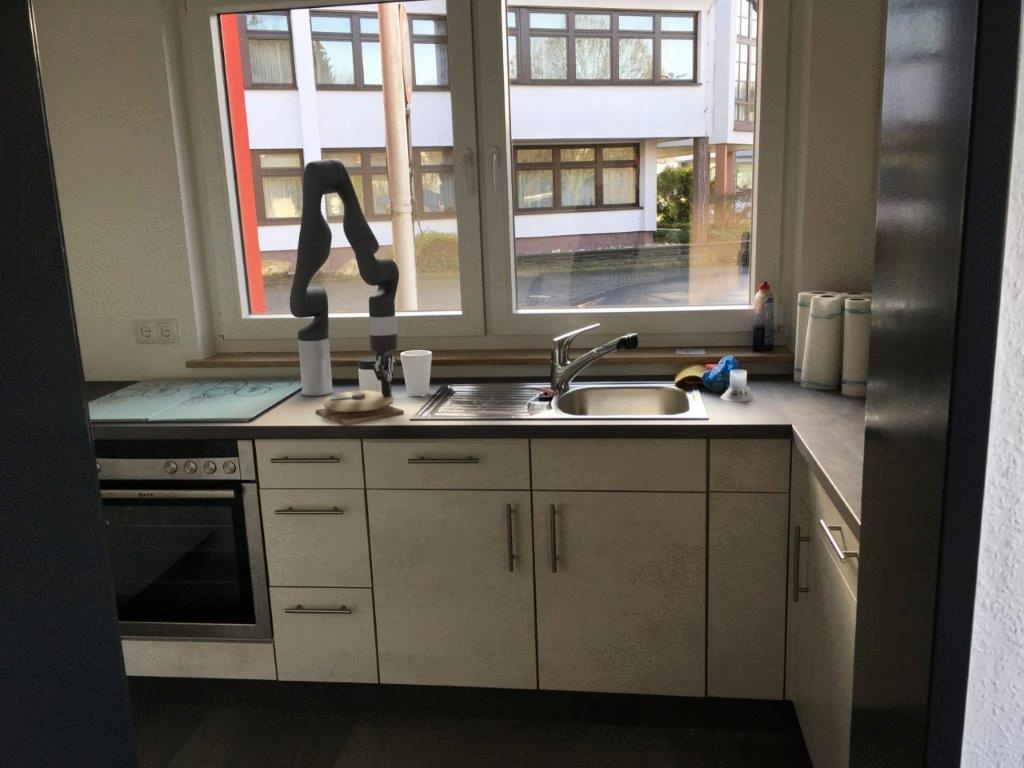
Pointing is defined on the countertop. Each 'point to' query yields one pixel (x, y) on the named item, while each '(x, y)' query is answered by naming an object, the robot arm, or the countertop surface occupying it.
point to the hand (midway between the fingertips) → (386, 394)
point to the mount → (359, 415)
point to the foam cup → (416, 371)
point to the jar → (368, 375)
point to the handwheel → (358, 401)
